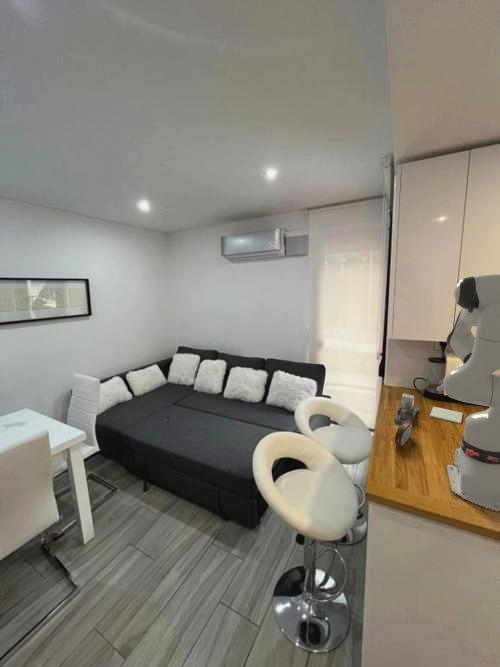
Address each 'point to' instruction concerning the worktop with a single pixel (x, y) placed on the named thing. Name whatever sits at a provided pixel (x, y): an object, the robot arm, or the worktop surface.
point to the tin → (403, 433)
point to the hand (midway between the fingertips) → (438, 386)
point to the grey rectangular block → (407, 403)
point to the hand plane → (405, 415)
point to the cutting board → (446, 415)
